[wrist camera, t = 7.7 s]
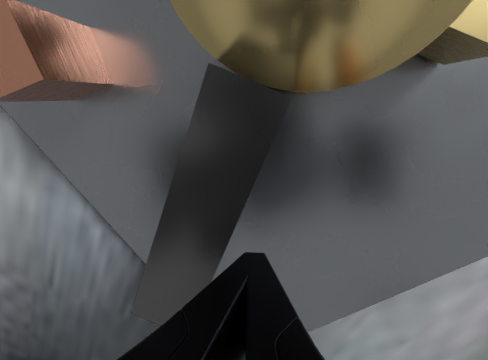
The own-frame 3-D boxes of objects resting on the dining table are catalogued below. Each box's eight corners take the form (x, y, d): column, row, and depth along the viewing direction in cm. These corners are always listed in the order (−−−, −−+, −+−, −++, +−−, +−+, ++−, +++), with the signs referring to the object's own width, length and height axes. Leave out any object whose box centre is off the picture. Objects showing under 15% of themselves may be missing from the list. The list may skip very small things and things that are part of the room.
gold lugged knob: (204, -366, 6) (117, -890, 3) (606, -198, 6) (983, -539, 3) (89, 219, 11) (18, 265, 8) (294, 306, 11) (300, 384, 8)
